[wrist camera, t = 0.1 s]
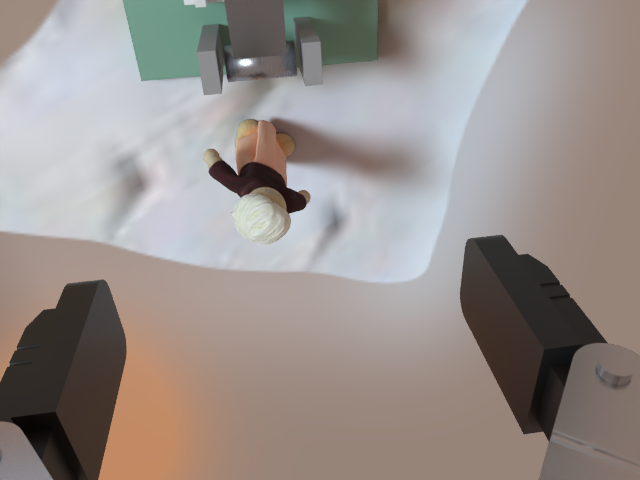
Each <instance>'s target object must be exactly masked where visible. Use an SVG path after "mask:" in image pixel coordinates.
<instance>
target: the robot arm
mask: <svg viewBox="0 0 640 480" xmlns="http://www.w3.org/2000/svg"><path fill="white" fill-rule="evenodd" d="M460 300H461V307H462V312H463V315H464V317H465V320H466V322H467V324H468V326H469V328H470V330H471V331H472V333H473V335H474V337H475V339H476V341H477V343H478V345H479V347H480V349H481V351H482V353H483V355H484V357H485V359H486V361H487V363H488V365H489V367H490V369H491V371H492V373H493V374H494V377H495V378H496V380H497V383H498V384H499V387H500V388H501V390H502V392H503V394H504V396H505V398H506V400H507V402H508V404H509V406H510V408H511V410H512V412H513V414H514V416H515V418H516V420H517V422H518V424H519V426H520V428H521V430H522V432H523V434H528V433H536V432H542V431H543V432H544V433H545V435H546V437H547V439H548V441H549V445H548V448H547V452H546V455H545V459H544V462H543V466H542V470H541V473H540V477H539V480H640V355H638V354H636V353H635V352H633V351H631V350H628V349H627V348H624V347H621V346H618V345H614V344H608V343H607V342H606V340H605V339H604V338H603V337H602V335H601V334H600V333H599V331H598V330H597V329H596V328H595V326H594V325H593V324H592V322H591V321H590V320H589V319H588V317H587V316H586V315H585V314H584V312H583V311H582V310H581V308H580V307H579V306H578V305H577V303H576V302H575V301H574V300H573V299H572V298H570V295H569V293H568V292H567V291H566V289H565V288H564V287H563V286H562V285H560V282H559V280H558V279H557V278H556V277H555V275H554V274H553V273H552V272H551V270H550V269H549V268H548V267H547V266H546V265H544V264H543V263H541V262H540V261H538V260H537V259H535V258H533V257H532V256H530V255H529V254H523V255H518V254H517V253H516V251H515V250H514V249H513V247H512V246H511V244H510V243H509V242H508V240H507V239H506V238H505V237H504V236H503V235H496V236H487V237H478V238H470V239H468V240H467V242H466V246H465V254H464V263H463V272H462V281H461V289H460ZM125 359H126V339H125V334H124V330H123V327H122V324H121V321H120V318H119V315H118V312H117V309H116V306H115V303H114V301H113V297H112V295H111V291H110V289H109V286H108V284H107V282H106V281H105V280H95V281H87V282H78V283H69V284H67V285H66V286H65V287H64V290H63V292H62V294H61V297H60V299H59V302H58V304H57V306H56V309H47V310H43V311H42V312H41V313H40V314H39V315H38V316H37V317H36V318H35V319H34V320H33V321H32V322H31V323H30V324H29V325H28V326H27V327H26V328H25V330H24V332H23V335H22V337H21V339H20V341H19V343H18V346H17V351H15V352H14V354H13V356H12V358H11V360H10V367H7V369H6V371H5V373H4V375H3V378H2V380H1V382H0V480H98V477H99V474H100V469H101V465H102V460H103V456H104V452H105V447H106V443H107V439H108V434H109V430H110V425H111V421H112V417H113V413H114V408H115V404H116V399H117V395H118V391H119V386H120V382H121V377H122V373H123V369H124V365H125Z"/></svg>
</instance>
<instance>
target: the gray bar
mask: <svg viewBox="0 0 640 480" xmlns="http://www.w3.org/2000/svg"><path fill="white" fill-rule="evenodd" d="M224 3H225V9H226V15H227V21H228V28H229V34H230V40H231V45H230V46H224V58H225V66H226V73H227V79H228V82H235V81H246V80H257V79H268V78H279V77H290V76H297V68H296V55H295V47H294V41H293V40H289V41H286V36H285V18H284V1H283V0H224Z"/></svg>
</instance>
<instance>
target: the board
mask: <svg viewBox="0 0 640 480" xmlns="http://www.w3.org/2000/svg"><path fill="white" fill-rule="evenodd" d="M283 1H284V18H285V36H286V41H289V40H293V41H294V47H295V55H296V67H300V70H301V74H302V77H303V80H304V83H305V86H309V85H320V84H323V82H322V65H328V64H339V63H350V62H362V61H373V60H377V50H378V0H283ZM123 3H124V7H125V12H126V16H127V20H128V25H129V29H130V33H131V38H132V42H133V46H134V50H135V55H136V59H137V63H138V68H139V72H140V76H141V81H147V80H159V79H170V78H181V77H193V76H201V80H202V86H203V92H204V95H211V94H222V83H223V74H226V66H225V58H224V46H230V45H231V40H230V34H229V28H228V21H227V15H226V9H225V3H224V0H123Z"/></svg>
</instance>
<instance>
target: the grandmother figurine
mask: <svg viewBox="0 0 640 480" xmlns="http://www.w3.org/2000/svg"><path fill="white" fill-rule="evenodd" d="M235 147H236V153H235V154H236V163H237V169H238V175H237V174H236V172H235V171H234V170H233V169H232V168H231V167H230V166H229V165H228V164H227V163H226V162H225V161H223V160H222V159H221V158H220V157H219V154H218V152H217V151H216V150H214V149H208V150H206V151H205V152H204V155H203V158H204V161H205V162H206V163H207V165H208V168H209V174H210V175H211V176H212V177H213V178H214V179H216V180H217V181H218V182H220V183H221V184H223V185H224V186H225V187H226V188H228V189H229V190H231V191H233V192H235V193H237V194H238V195H239V196H240V197H241V198H240V200H239V201H238V202H237V203H236V206H235V209H234V211H233V212H231V214H232V217H233V219H234V223H235V227H236V229H237V230H238V232H239V233H240V234H241V235H243V236H244V237H245V238H247V239H248V240H251V241H254V242H259V243H261V244H271V243H273V242H276V241H277V240H279V239H280V238H281V237H283V236H284V235H285V234H286V232H287V231H288V229H289V228H290V223H291V219H290V215H289V213H293V212H296V211H300V210H303V209H304V208H305V207H306V204H307V203H308V202H309V201H310V194H309V192H307V191H305V190H301V191H299V192H296V191H294V190H292V189H290V188H287V187H286V186H287V176H286V158H287V157H288V156H290V155H291V154H292V153H293V151H294V150H295V142H294V140H293V139H292V138H291V137H290V136H289V135H287V134H285V133H279V134H276V129H275V127H274V126H273V125H272V124H271V123H270V122H268V121H265V120H260V121H259V122H257V121H255V120H251V119H249V120H245V121H243V122H242V123H241V124H240V125H239V128H238V132H237V136H236V141H235Z"/></svg>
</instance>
